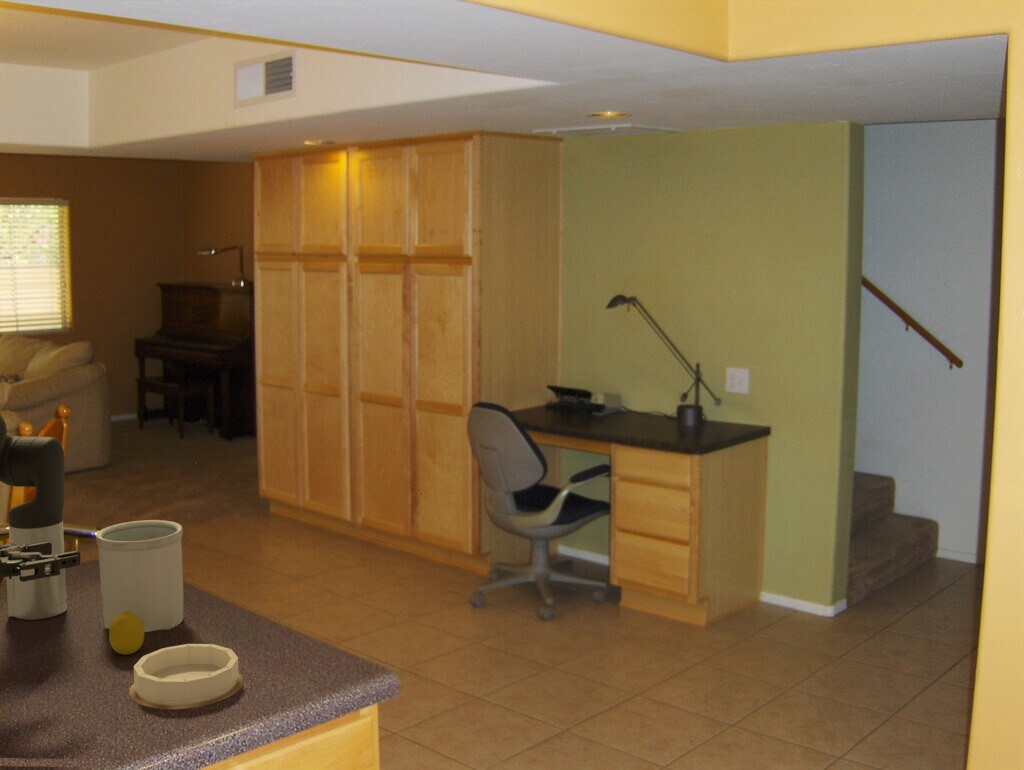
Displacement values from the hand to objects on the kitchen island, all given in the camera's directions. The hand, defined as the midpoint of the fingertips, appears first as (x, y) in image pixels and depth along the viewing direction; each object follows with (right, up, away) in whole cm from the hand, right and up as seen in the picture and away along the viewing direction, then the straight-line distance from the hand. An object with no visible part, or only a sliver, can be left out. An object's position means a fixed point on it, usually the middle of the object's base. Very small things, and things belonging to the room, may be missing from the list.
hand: (64, 553), depth 169 cm
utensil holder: (+3, -17, +27) cm, 32 cm away
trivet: (+20, -21, -2) cm, 29 cm away
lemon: (+6, -19, +11) cm, 23 cm away
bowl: (+20, -20, -2) cm, 29 cm away
